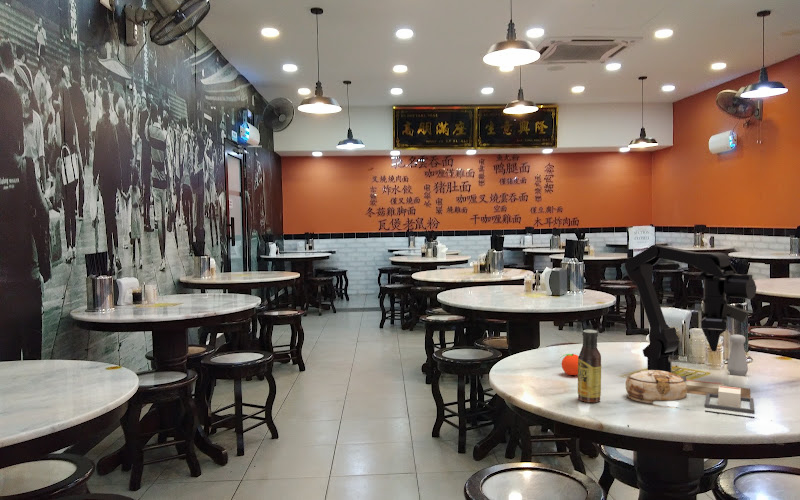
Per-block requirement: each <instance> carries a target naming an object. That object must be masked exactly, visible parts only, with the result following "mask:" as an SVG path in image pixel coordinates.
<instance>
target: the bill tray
mask: <svg viewBox="0 0 800 500" xmlns="http://www.w3.org/2000/svg"><path fill="white" fill-rule="evenodd" d="M711 398H715V399H718V394H712V393H707V394H706V395H705V401H704V408H707V409H713V410H720V411H721V410H722V411H730V412H735V413H736V412H737V413H746V414H752V415H753V414H755V402H754V398H753V397H751V398H746V397H741V402H748V403H749V407H750V408H746V407H740V408H738V407H730V406H722V405H718V404H713V403H710V399H711ZM713 410H706V409H705V410H704V412H705V413H712V414H719V415H725V416H726V415H727V416H734V417H741V418H742V417H743V418H748V419H749V418H750V419H755V416H750V415H741V414H737V413H736V414H735V413H734V414H733V413H728V412H720V411H713Z"/></svg>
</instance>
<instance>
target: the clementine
mask: <svg viewBox="0 0 800 500" xmlns="http://www.w3.org/2000/svg"><path fill="white" fill-rule="evenodd" d="M562 357H563V359H562V361H561V368H562V370H563V372H564V373H565V374H567V376H568V375H569V376H571V375H575V376H578V357H579V355H578V354H576V353H575V354H574V353H567V354H563V355H561V356H560V358H559V359H561V358H562ZM559 359H558V361H560V360H559Z"/></svg>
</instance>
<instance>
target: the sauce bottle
mask: <svg viewBox="0 0 800 500" xmlns="http://www.w3.org/2000/svg"><path fill="white" fill-rule="evenodd" d="M598 336H599V332H598V330H594V329H584V330H582V347H581V348H580V352H579V355H578V356H579V357H578V375H577V398H578V400H579V401H581V402H583V401H584V403H590V404H591V403H592V404H593V403H599V402H600V401H601V395H602V355H601V353H600V351H599V350H598Z"/></svg>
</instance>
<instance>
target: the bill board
mask: <svg viewBox="0 0 800 500" xmlns="http://www.w3.org/2000/svg"><path fill="white" fill-rule="evenodd" d="M679 376H680V377H682V378H683V380H684V382H685V383H686V386H687V394H691V395H700V396H706V394H707V393H712V394H718V390H719V386H725V383H722V382H714V381H705V380H697V379H696V380H694V379H688V378H687V376H685V375H679ZM726 386H727V387H731V386H729V385H726ZM735 387H736V388H741V397H746V398H752V397H751V388H747V387H737V386H735Z"/></svg>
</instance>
